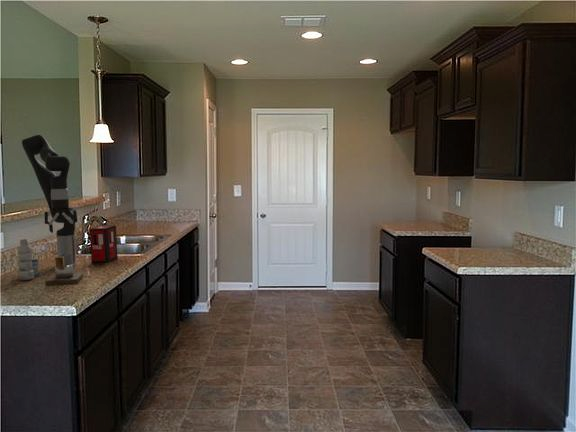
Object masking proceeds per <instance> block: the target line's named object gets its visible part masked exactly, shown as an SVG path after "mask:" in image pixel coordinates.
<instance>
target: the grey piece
mask: <svg viewBox="0 0 576 432" xmlns="http://www.w3.org/2000/svg"><path fill="white" fill-rule="evenodd" d="M54 262H55V266H54V275H55V277H56V278H66V277H71V276H73V275H74V274H75V272H74V265H72V261H71V254H63V255H60V256H58V255H57V256H55V257H54Z"/></svg>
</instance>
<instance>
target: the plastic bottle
mask: <svg viewBox="0 0 576 432" xmlns="http://www.w3.org/2000/svg"><path fill="white" fill-rule="evenodd" d="M19 245H20V246H18V249H17V256H18V261H19V262H20V271H19V270H18V278H19V279H20V280H21V281H30V280H33V279H34V271H33V266H32V259H33V247H32V246H31V245H30V241H29V239H28V238H27V239H26V238H25V239H20V240H19Z"/></svg>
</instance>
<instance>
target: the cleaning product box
mask: <svg viewBox="0 0 576 432" xmlns="http://www.w3.org/2000/svg"><path fill="white" fill-rule="evenodd" d="M117 239H118V238H117V226H116V225H98V226H96V227H91V228H90V229H89V241H90V242H89V244H90V255H91V256H90V259H91V260H90V261H91V264H92V265H93V263H107V264H109V263H111V262H114V261H115V260H117V259H118V243H117V241H118V240H117Z"/></svg>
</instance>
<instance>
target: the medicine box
mask: <svg viewBox="0 0 576 432" xmlns="http://www.w3.org/2000/svg"><path fill="white" fill-rule="evenodd" d="M17 262H18V272H19V271H20V262H19V260H18V261H17ZM32 266H33V271H34V277H38V276H40V272H39V271H40V270H39V259H38V258H32ZM34 277H33V278H34Z"/></svg>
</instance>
